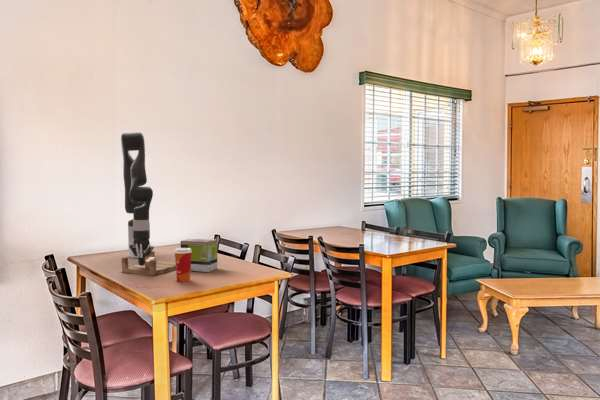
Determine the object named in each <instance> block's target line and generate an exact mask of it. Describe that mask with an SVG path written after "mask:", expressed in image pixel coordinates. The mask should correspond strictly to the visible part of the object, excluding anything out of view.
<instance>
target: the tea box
mask: <svg viewBox="0 0 600 400" xmlns="http://www.w3.org/2000/svg"><path fill="white" fill-rule="evenodd" d="M180 248H186V249H187V248H191V251H192V252H191V272H203V273H210V272H212V271H215V270H217V269H218V239H215V238H194V237H193V238H192V237H191V238H187V239H182V240H180Z"/></svg>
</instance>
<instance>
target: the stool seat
mask: <svg viewBox="0 0 600 400" xmlns="http://www.w3.org/2000/svg"><path fill="white" fill-rule="evenodd" d="M151 255H155V256H156V254H155V251H154V250H152V252H151V253H150V254H149V256H148V258H149V257H151ZM172 271H173V272H174V271H176V262H166V261H157V260H150V268H145V264H144V265H143V266H141V265H139V263H137V264H134V265H133V264H132V265H130V266H129V256H122V257H121V273H125V274H126V273H127V274H133V275H142V276H149V277H150V276H151V277H155V276H159V275H162V274H166V273H169V272H172Z"/></svg>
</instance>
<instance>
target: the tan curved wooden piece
mask: <svg viewBox="0 0 600 400" xmlns="http://www.w3.org/2000/svg"><path fill="white" fill-rule="evenodd" d="M156 259H157V257H156V254H155V255H151V257H149V256H148V258H147V259H145V268H150V260H156ZM156 261H157V260H156Z"/></svg>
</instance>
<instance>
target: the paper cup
mask: <svg viewBox="0 0 600 400" xmlns="http://www.w3.org/2000/svg"><path fill="white" fill-rule="evenodd" d="M191 252H192V251H191V248H187V249H186V248H181V247H179V248H175V249H174V252H173V253H174V261H175V262H174V263H176V270H175V274H176V275H175V276H176V282H178V283H187V282H190V281H191V272H192V271H191Z"/></svg>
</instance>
